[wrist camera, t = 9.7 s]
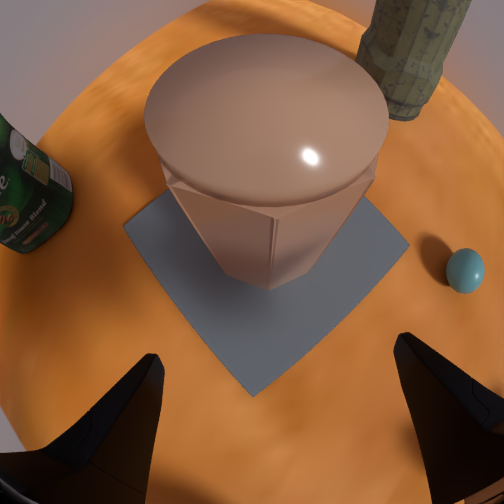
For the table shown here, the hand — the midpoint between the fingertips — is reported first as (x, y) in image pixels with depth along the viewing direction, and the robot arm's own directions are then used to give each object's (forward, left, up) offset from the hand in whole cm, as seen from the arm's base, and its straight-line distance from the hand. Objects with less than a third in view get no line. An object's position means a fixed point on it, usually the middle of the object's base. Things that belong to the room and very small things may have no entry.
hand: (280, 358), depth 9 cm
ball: (+15, -7, -9) cm, 19 cm away
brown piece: (+5, +6, -8) cm, 11 cm away
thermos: (+27, +10, -9) cm, 30 cm away
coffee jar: (-10, +23, -9) cm, 27 cm away
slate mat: (+5, +6, -9) cm, 12 cm away
